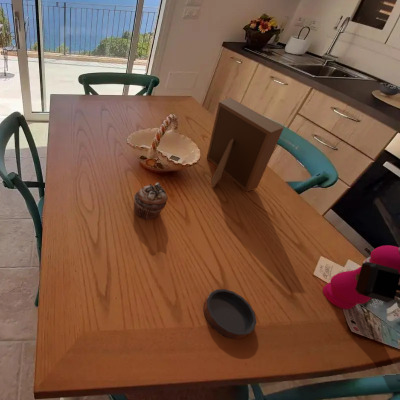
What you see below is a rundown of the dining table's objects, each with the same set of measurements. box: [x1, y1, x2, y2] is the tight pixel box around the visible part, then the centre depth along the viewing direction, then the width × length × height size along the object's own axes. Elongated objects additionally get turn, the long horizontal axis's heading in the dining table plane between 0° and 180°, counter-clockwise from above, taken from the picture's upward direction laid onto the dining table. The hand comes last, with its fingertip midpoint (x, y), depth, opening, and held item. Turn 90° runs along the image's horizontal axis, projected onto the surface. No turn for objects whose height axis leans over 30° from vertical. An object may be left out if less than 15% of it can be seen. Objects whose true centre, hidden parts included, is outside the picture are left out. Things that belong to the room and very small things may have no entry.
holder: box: [202, 288, 257, 340], centre depth 60 cm, size 10×10×2 cm
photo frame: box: [206, 97, 285, 193], centre depth 92 cm, size 15×22×25 cm
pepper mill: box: [322, 244, 400, 310], centre depth 59 cm, size 7×7×20 cm
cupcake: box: [133, 182, 169, 221], centre depth 81 cm, size 10×10×10 cm
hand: (382, 283), depth 55 cm, fingers open, 9 cm apart
